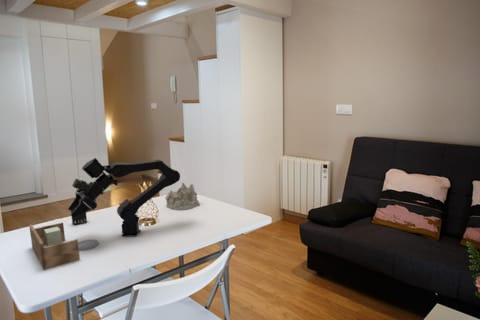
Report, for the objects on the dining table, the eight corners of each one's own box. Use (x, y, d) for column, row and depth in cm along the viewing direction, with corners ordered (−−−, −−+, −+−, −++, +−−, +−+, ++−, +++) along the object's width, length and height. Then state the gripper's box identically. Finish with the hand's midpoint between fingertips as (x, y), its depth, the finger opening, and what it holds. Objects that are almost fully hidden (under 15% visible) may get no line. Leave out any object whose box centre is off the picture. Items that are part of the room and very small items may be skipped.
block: (60, 249, 150) (57, 226, 148) (63, 253, 146) (60, 230, 145) (46, 253, 147) (43, 229, 146) (49, 257, 143) (46, 233, 142)
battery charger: (73, 226, 177) (70, 203, 175) (71, 224, 180) (69, 201, 178) (88, 223, 181) (86, 200, 179) (86, 220, 184) (84, 198, 182)
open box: (64, 239, 160) (62, 218, 159) (79, 259, 141) (76, 234, 139) (32, 247, 153) (29, 224, 151) (43, 269, 133) (40, 243, 132)
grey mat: (102, 240, 159) (102, 239, 159) (93, 250, 149) (92, 249, 149) (80, 240, 159) (79, 239, 159) (68, 250, 149) (68, 249, 149)
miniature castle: (203, 204, 205) (200, 178, 203) (180, 213, 194) (176, 185, 191) (186, 201, 216) (183, 176, 213) (162, 209, 204) (159, 183, 202)
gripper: (82, 168, 160) (53, 194, 155) (89, 176, 144) (57, 205, 139) (100, 186, 165) (72, 211, 160) (109, 195, 149) (79, 224, 144)
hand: (70, 212), depth 151 cm, fingers open, 9 cm apart
